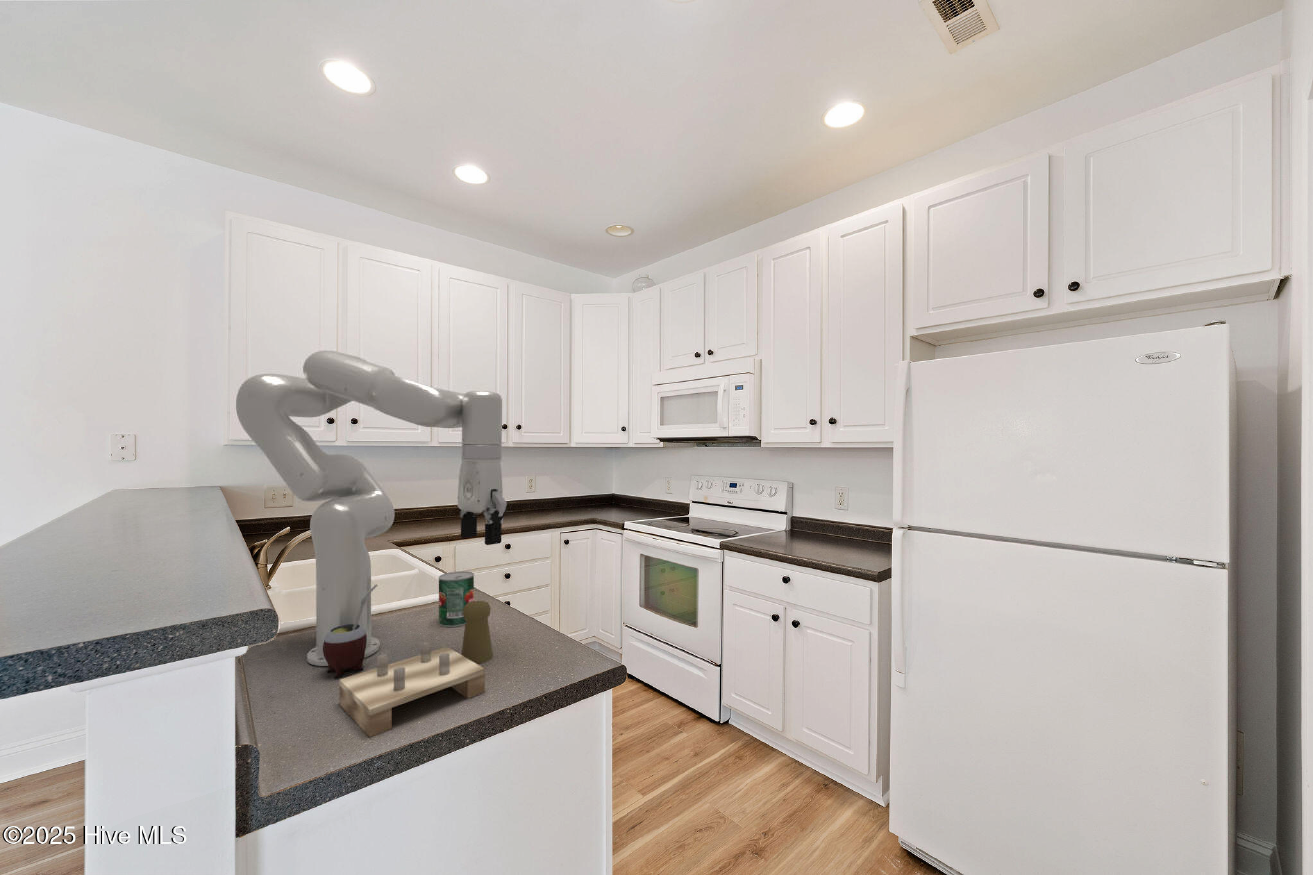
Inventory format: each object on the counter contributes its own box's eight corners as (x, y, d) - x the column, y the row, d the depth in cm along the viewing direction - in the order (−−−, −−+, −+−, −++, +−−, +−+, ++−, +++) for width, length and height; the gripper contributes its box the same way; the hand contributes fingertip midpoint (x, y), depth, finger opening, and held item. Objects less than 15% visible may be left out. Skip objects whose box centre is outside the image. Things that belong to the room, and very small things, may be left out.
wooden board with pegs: (339, 703, 84) (339, 661, 84) (447, 667, 97) (447, 630, 97) (369, 737, 74) (369, 688, 74) (484, 692, 88) (484, 650, 88)
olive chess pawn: (496, 651, 105) (496, 597, 105) (487, 664, 99) (487, 606, 99) (466, 652, 104) (466, 597, 105) (456, 664, 98) (455, 607, 99)
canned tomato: (433, 621, 123) (433, 575, 123) (466, 613, 128) (466, 569, 128) (445, 630, 117) (445, 581, 117) (479, 621, 122) (479, 575, 122)
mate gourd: (314, 680, 92) (314, 597, 92) (338, 662, 100) (338, 584, 100) (357, 679, 93) (357, 596, 93) (378, 660, 101) (378, 584, 101)
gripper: (443, 452, 105) (442, 536, 105) (485, 455, 93) (484, 549, 93) (478, 452, 111) (477, 532, 110) (522, 455, 99) (520, 544, 99)
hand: (480, 540), depth 102 cm, fingers open, 9 cm apart
